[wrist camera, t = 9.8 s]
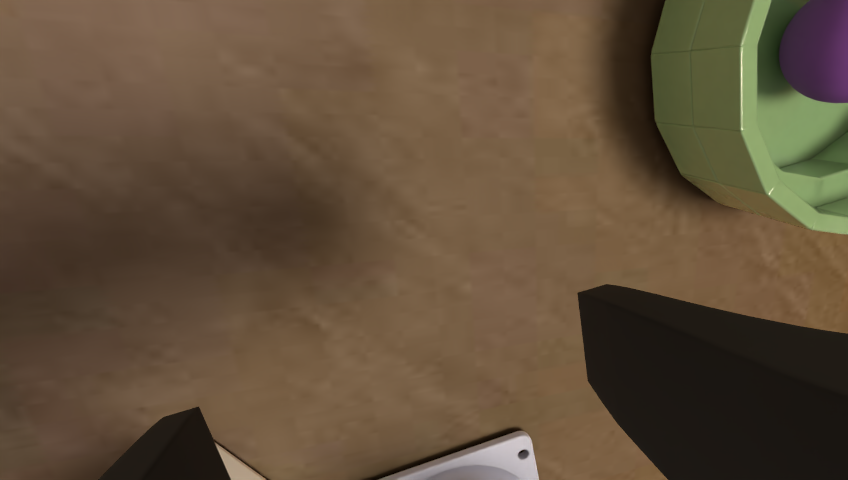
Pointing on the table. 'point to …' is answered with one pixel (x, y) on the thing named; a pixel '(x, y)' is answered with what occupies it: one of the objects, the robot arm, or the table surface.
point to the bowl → (747, 114)
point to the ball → (817, 51)
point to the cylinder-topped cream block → (237, 467)
